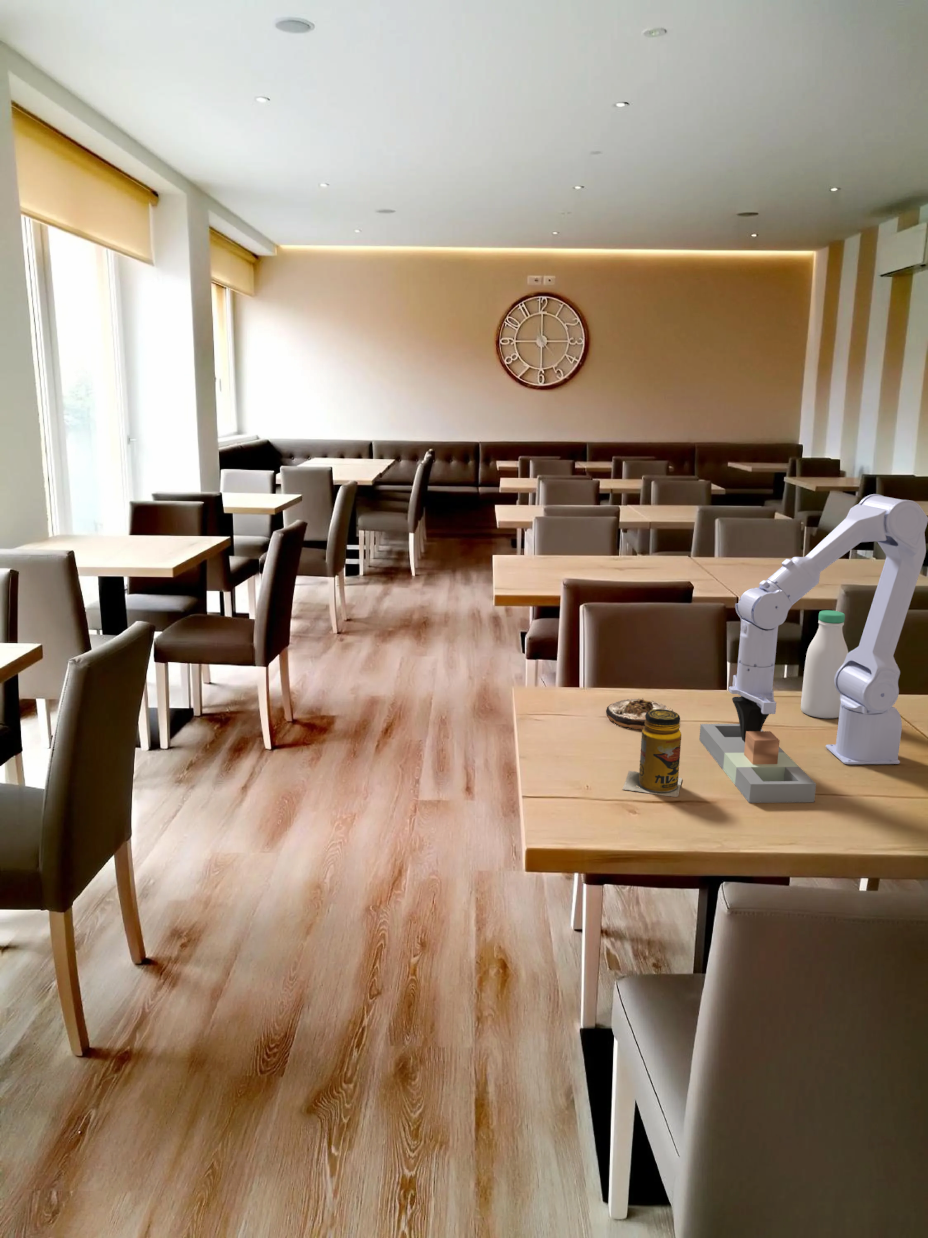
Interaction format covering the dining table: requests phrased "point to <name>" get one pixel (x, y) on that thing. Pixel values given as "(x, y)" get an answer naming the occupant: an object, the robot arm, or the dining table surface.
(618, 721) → the plate of food
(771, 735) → the block
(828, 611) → the milk bottle
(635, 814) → the dining table surface
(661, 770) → the condiment
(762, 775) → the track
